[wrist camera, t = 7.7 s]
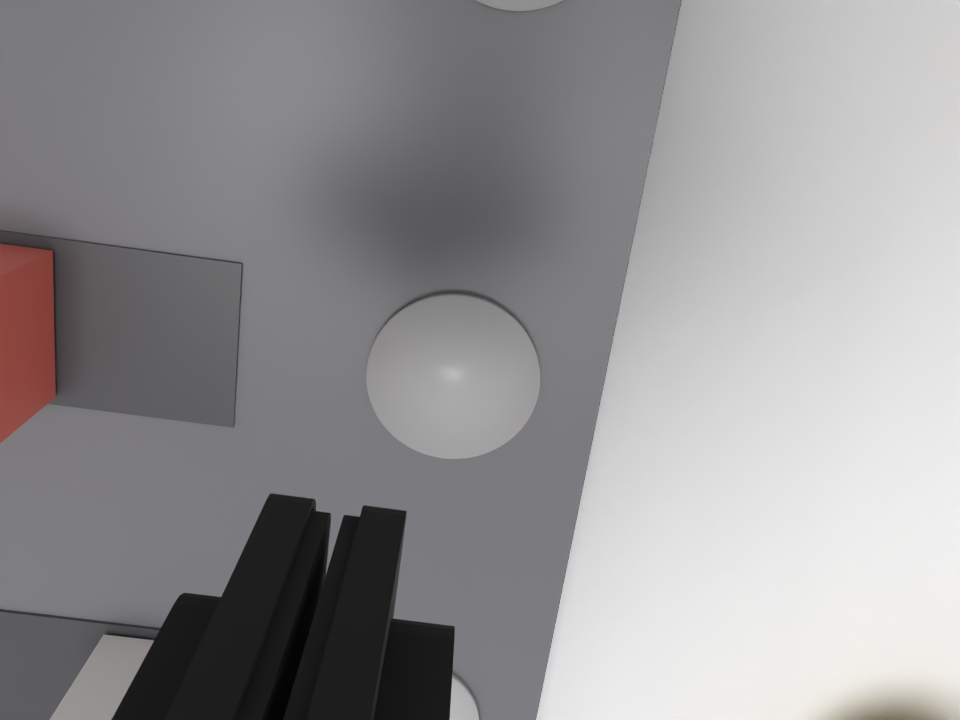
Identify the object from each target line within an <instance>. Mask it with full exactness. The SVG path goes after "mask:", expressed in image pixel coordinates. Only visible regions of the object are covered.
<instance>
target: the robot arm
mask: <svg viewBox="0 0 960 720" xmlns="http://www.w3.org/2000/svg"><path fill="white" fill-rule="evenodd" d="M406 515H407V511H405V510H397V509H389V508H382V507H374V506H366V505H363V507H362V511H361V514H360V517H359V516H351V515H344V516H343V519H342V522H341V526H340V529H339V533H338V536H337V539H336V543H335V546H334V550H333V553H332V556H331V560H330V563H329V566H328V570H327V573H326V569H327V558H328V547H329V537H330V526H331V513H328V512H320V511H316V500H315V499H312V498H304V497H296V496H289V495H281V494H273V493H271V494H269V496H268V498H267V500H266V502H265V504H264V506H263V508H262V510H261V513H260V515H259V517H258V519H257V521H256V523H255V525H254V528H253V530H252V532H251V534H250V536H249V538H248V541H247V543H246V545H245V547H244V549H243V551H242V553H241V556H240V558H239V560H238V562H237V564H236V566H235V569H234V571H233V573H232V575H231V577H230V579H229V581H228V584H227V586H226V588H225V590H224V592H223V594H222V597H216V596H208V595H200V594H192V593H183V594H181V595H180V596H179V597H178V599H177V600H176V601H175V603H174V605H173V606H172V608H171V610H170V612H169V614H168V616H167V618H166V619H165V621H164V623H163V625H162V627H161V629H160V631H159V632H158V634H157V636H156V638H155V640H154V642H153V644H152V645H151V647H150V649H149V651H148V653H147V655H146V657H145V658H144V660H143V662H142V664H141V666H140V668H139V670H138V671H137V673H136V675H135V677H134V679H133V681H132V682H131V684H130V686H129V688H128V690H127V692H126V694H125V695H124V697H123V699H122V701H121V703H120V705H119V707H118V708H117V710H116V712H115V714H114V716H113V718H112V720H450V705H451V688H452V672H453V655H454V638H455V627H454V626H449V625H441V624H433V623H425V622H417V621H409V620H401V619H393V617H394V609H395V601H396V593H397V586H398V578H399V570H400V562H401V554H402V547H403V539H404V531H405V523H406Z"/></svg>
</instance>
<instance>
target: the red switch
mask: <svg viewBox="0 0 960 720" xmlns="http://www.w3.org/2000/svg"><path fill="white" fill-rule="evenodd" d="M55 397H56V384H55V335H54V286H53V251H52V250H44V249H37V248H30V247H22V246H15V245H8V244H0V443H1V442H3V441H4V440H5V439H6V438H7V437H9V436H10V435H11V434H12V433H13V432H15V431H16V430H17V429H18V428H19V427H21V426H22V425H23V424H24V423H25V422H27V421H28V420H29V419H30V418H31V417H33V416H34V415H35V414H36V413H37V412H39V411H40V410H41V409H42V408H43V407H45V406H46V405H47V404H48V403H49V402H51V401H52V400H53V399H54V398H55Z"/></svg>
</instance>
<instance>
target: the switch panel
mask: <svg viewBox="0 0 960 720" xmlns="http://www.w3.org/2000/svg"><path fill="white" fill-rule="evenodd" d="M680 5H681V0H0V244H8V245H15V246H22V247H30V248H37V249H44V250H52V251H53V286H54V335H55V384H56V397H55V398H54V399H53V400H52V401H51V402H49V403H48V404H47V405H46V406H45V407H43V408H42V409H41V410H40V411H39V412H37V413H36V414H35V415H34V416H33V417H31V418H30V419H29V420H28V421H27V422H25V423H24V424H23V425H22V426H21V427H19V428H18V429H17V430H16V431H15V432H13V433H12V434H11V435H10V436H9V437H7V438H6V439H5V440H4V441H3V442H1V443H0V720H50V718H51V716H52V715H53V713H54V712H55V710H56V709H57V707H58V705H59V704H60V702H61V701H62V699H63V698H64V696H65V694H66V693H67V691H68V690H69V688H70V687H71V685H72V683H73V682H74V680H75V679H76V677H77V676H78V674H79V672H80V671H81V669H82V668H83V666H84V665H85V663H86V661H87V660H88V658H89V657H90V655H91V654H92V652H93V650H94V649H95V647H96V646H97V644H98V643H99V641H100V639H101V638H102V636H103V635H112V636H121V637H129V638H138V639H147V640H155V638H156V636H157V634H158V632H159V631H160V629H161V627H162V625H163V623H164V621H165V619H166V618H167V616H168V614H169V612H170V610H171V608H172V606H173V605H174V603H175V601H176V600H177V599H178V597H179V596H180V595H181V594H183V593H192V594H200V595H208V596H216V597H222V594H223V592H224V590H225V588H226V586H227V584H228V581H229V579H230V577H231V575H232V573H233V571H234V569H235V566H236V564H237V562H238V560H239V558H240V556H241V553H242V551H243V549H244V547H245V545H246V543H247V541H248V538H249V536H250V534H251V532H252V530H253V528H254V525H255V523H256V521H257V519H258V517H259V515H260V513H261V510H262V508H263V506H264V504H265V502H266V500H267V498H268V496H269V494H271V493H273V494H281V495H289V496H296V497H304V498H312V499H315V500H316V511H320V512H328V513H331V526H330V537H329V547H328V558H327V569H326V573H327V570H328V566H329V563H330V560H331V556H332V553H333V550H334V546H335V543H336V539H337V536H338V533H339V529H340V526H341V522H342V519H343V516H344V515H351V516H359V517H360V514H361V511H362V507H363V505H366V506H374V507H382V508H389V509H397V510H405V511H407V515H406V523H405V531H404V539H403V547H402V554H401V562H400V570H399V578H398V586H397V593H396V601H395V609H394V617H393V619H401V620H409V621H417V622H425V623H433V624H441V625H449V626H454V627H455V638H454V655H453V672H452V688H451V705H450V720H536V717H537V712H538V707H539V702H540V697H541V692H542V687H543V682H544V677H545V672H546V667H547V662H548V657H549V652H550V648H551V643H552V638H553V633H554V628H555V623H556V618H557V613H558V608H559V603H560V598H561V593H562V588H563V583H564V578H565V573H566V568H567V563H568V559H569V554H570V549H571V544H572V539H573V534H574V529H575V524H576V519H577V514H578V509H579V504H580V499H581V494H582V489H583V484H584V479H585V474H586V470H587V465H588V460H589V455H590V450H591V445H592V440H593V435H594V430H595V425H596V420H597V415H598V410H599V405H600V400H601V395H602V390H603V385H604V381H605V376H606V371H607V366H608V361H609V356H610V351H611V346H612V341H613V336H614V331H615V326H616V321H617V316H618V311H619V306H620V301H621V296H622V292H623V287H624V282H625V277H626V272H627V267H628V262H629V257H630V252H631V247H632V242H633V237H634V232H635V227H636V222H637V217H638V212H639V207H640V203H641V198H642V193H643V188H644V183H645V178H646V173H647V168H648V163H649V158H650V153H651V148H652V143H653V138H654V133H655V128H656V123H657V118H658V114H659V109H660V104H661V99H662V94H663V89H664V84H665V79H666V74H667V69H668V64H669V59H670V54H671V49H672V44H673V39H674V34H675V29H676V25H677V20H678V15H679V10H680Z"/></svg>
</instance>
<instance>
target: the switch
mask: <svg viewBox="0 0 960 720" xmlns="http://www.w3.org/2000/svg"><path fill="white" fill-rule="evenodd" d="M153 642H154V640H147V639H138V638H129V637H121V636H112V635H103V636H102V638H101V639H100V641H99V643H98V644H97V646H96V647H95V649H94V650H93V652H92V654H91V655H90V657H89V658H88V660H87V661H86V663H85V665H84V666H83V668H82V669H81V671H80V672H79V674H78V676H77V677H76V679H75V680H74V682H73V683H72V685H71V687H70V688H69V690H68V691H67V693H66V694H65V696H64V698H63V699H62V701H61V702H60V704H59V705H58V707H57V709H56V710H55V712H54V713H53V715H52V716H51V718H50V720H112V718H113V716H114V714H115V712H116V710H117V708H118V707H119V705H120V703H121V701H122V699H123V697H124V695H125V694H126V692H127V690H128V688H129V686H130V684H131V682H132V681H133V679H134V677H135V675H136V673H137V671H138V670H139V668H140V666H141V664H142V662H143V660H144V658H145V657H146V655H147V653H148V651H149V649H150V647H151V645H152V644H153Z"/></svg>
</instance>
